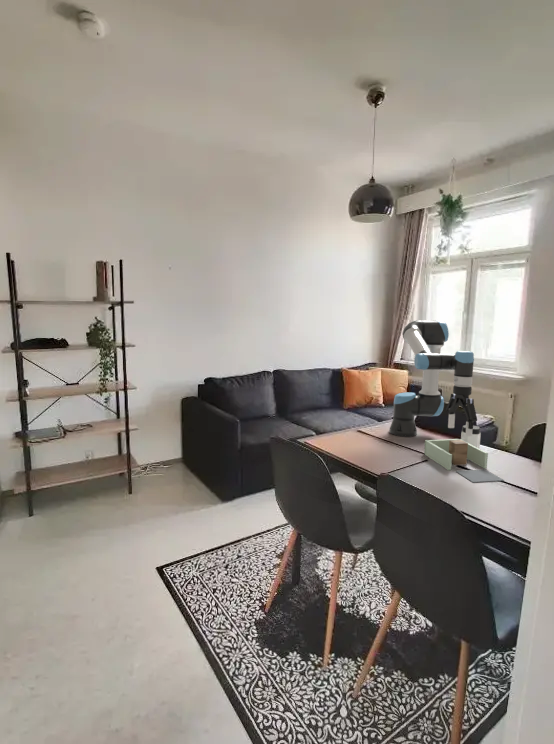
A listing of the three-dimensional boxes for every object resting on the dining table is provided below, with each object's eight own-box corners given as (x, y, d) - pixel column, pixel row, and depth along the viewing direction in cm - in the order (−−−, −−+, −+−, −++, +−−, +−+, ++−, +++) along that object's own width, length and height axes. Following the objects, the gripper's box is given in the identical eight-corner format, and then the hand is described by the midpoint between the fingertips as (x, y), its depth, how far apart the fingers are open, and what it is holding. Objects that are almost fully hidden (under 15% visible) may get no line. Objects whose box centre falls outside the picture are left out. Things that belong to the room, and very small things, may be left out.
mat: (455, 471, 176) (455, 470, 176) (485, 470, 178) (485, 469, 178) (472, 482, 164) (472, 481, 164) (504, 481, 166) (504, 480, 166)
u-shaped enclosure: (424, 454, 199) (424, 440, 198) (458, 452, 201) (459, 438, 200) (448, 470, 178) (449, 454, 177) (486, 468, 181) (487, 453, 180)
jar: (456, 448, 208) (458, 425, 207) (469, 446, 211) (471, 424, 209) (469, 453, 200) (471, 430, 198) (482, 452, 202) (484, 428, 201)
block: (448, 461, 189) (449, 440, 188) (459, 460, 190) (461, 440, 189) (454, 465, 184) (455, 443, 183) (466, 464, 185) (467, 443, 184)
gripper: (439, 381, 194) (437, 425, 196) (472, 390, 169) (468, 439, 172) (454, 381, 195) (451, 424, 197) (488, 390, 170) (485, 439, 173)
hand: (459, 431), depth 185 cm, fingers open, 13 cm apart
